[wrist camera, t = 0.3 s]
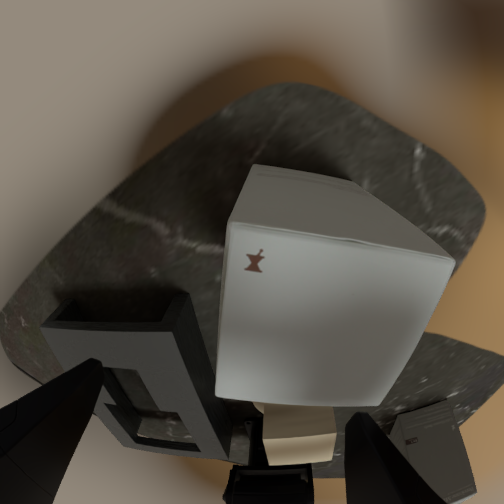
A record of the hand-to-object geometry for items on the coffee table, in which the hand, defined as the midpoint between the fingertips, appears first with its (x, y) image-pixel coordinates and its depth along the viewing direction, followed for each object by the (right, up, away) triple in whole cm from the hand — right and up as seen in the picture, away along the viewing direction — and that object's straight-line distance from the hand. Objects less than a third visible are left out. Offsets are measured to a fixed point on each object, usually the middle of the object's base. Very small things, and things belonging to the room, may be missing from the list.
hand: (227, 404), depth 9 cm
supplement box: (+4, +7, +12) cm, 14 cm away
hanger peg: (+5, -4, +16) cm, 18 cm away
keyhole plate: (-10, -8, +19) cm, 23 cm away
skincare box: (+24, -18, +22) cm, 37 cm away
